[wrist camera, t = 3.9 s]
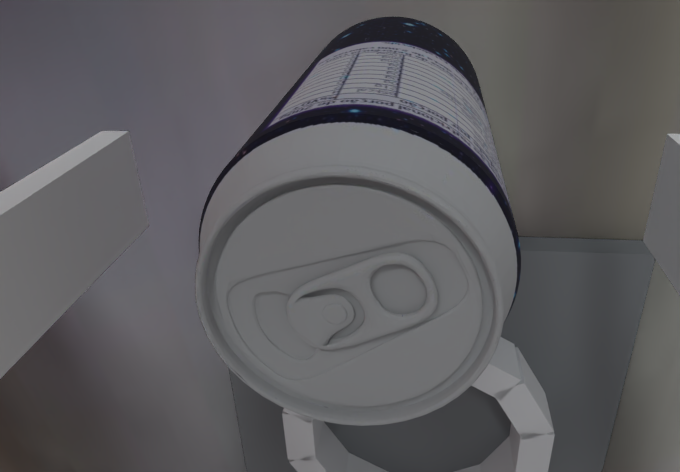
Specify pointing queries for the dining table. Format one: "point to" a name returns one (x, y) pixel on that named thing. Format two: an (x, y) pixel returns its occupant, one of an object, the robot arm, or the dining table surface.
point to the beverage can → (363, 234)
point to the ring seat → (497, 382)
